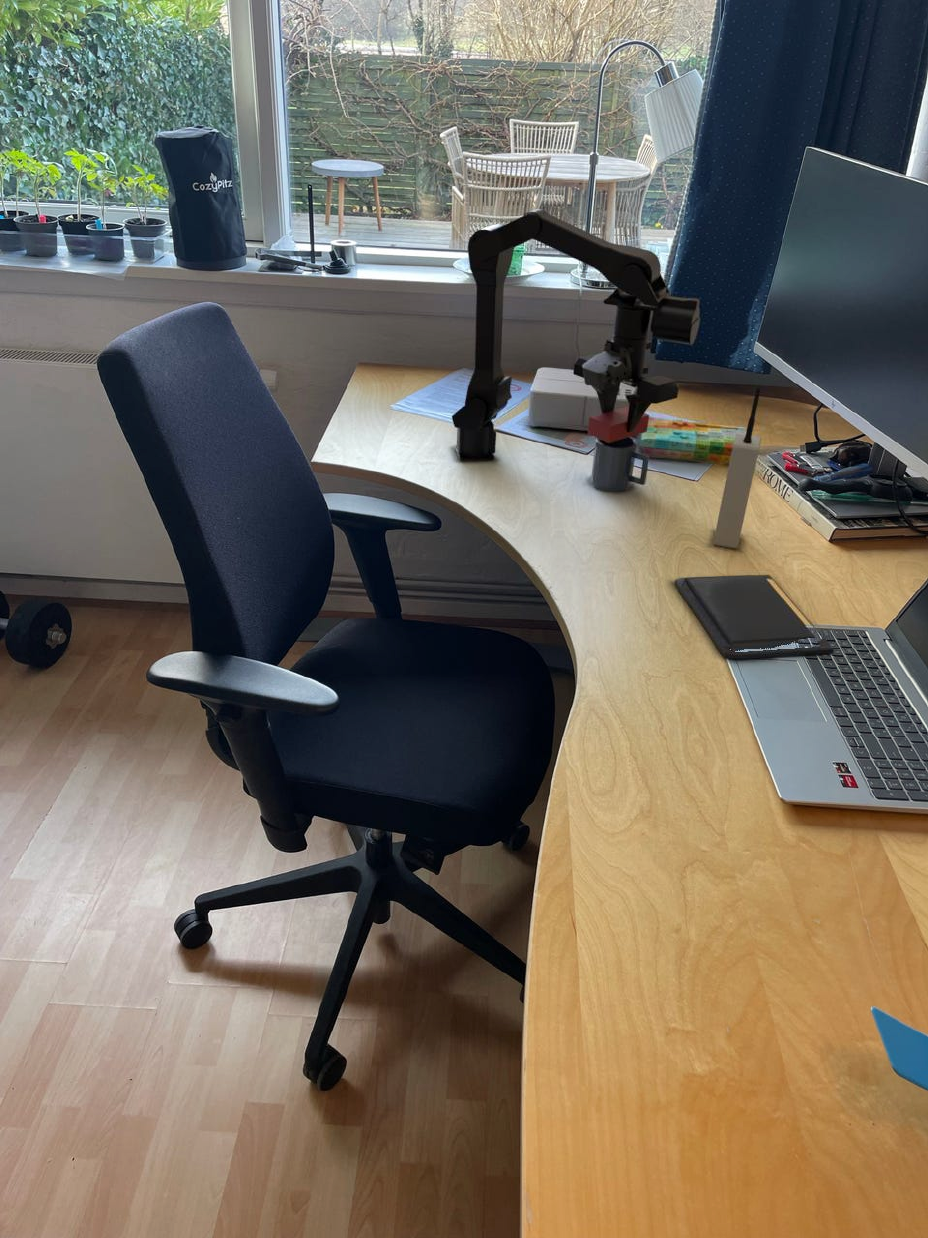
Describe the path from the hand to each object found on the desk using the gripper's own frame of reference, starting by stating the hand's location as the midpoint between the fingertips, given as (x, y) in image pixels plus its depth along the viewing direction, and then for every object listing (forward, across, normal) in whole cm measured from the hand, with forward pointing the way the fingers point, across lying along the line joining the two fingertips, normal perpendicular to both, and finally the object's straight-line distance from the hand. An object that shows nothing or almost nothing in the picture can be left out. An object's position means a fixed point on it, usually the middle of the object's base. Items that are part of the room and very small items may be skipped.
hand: (618, 427), depth 157 cm
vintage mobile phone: (+11, +26, -1) cm, 28 cm away
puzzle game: (+11, -1, +24) cm, 26 cm away
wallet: (+11, +42, -17) cm, 47 cm away
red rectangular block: (+1, 0, 0) cm, 1 cm away
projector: (+11, -26, +20) cm, 34 cm away
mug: (+10, +2, 0) cm, 11 cm away
